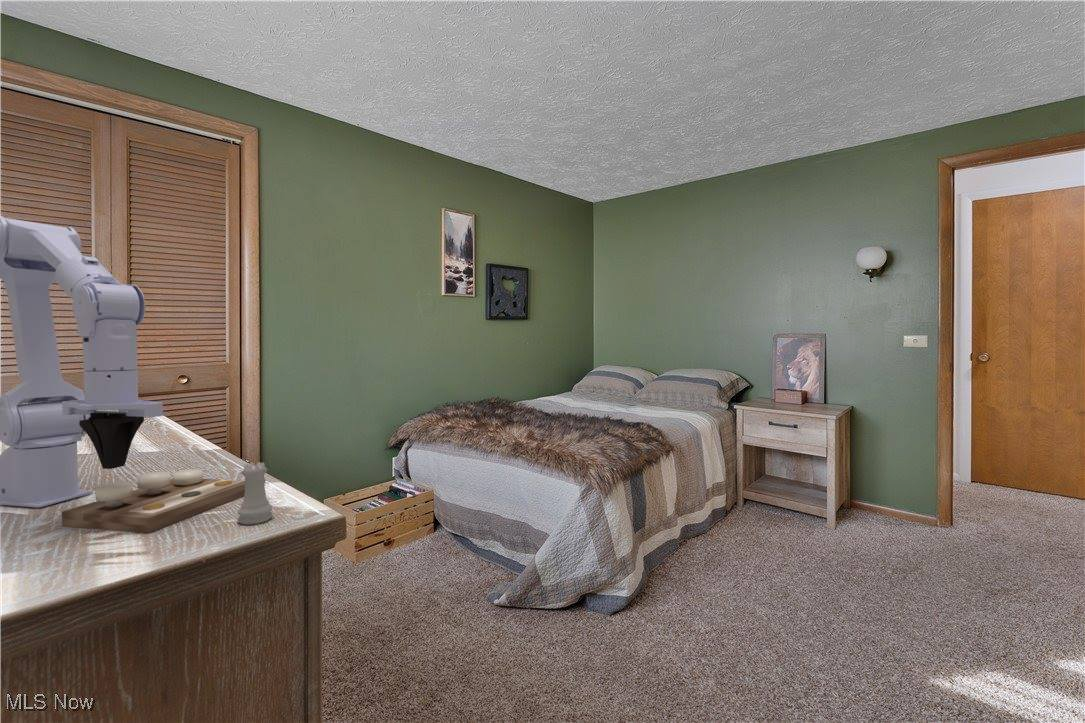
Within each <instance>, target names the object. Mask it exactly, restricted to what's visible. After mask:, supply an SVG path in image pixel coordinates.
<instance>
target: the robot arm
mask: <svg viewBox="0 0 1085 723" xmlns="http://www.w3.org/2000/svg"><path fill="white" fill-rule="evenodd" d="M0 280H2V281H3V284H4V288H5V290H6V291H5V292H6V297H7V302H8V308H9V310H8V311H9V315H10V323H11V330H12V336H13V344H14V351H15V357H16V364H17V372H18V379H19V384H17V385H16V386H14V387H13V388H11V389H9V390H8V391H6V392H5V393H3V394H2V395H1V396H0V442H1V443H3V444H4V445H6V446H7V448H6V449H4V450H3V451H2V452H1V453H0V504H1V505H2V506H11V507H27V508H43V507H47V506H50V505H55V504H58V503H61V502H64V501H69V500H72V499H75V498H80V497H83V496H87V495H90V494H94V490H93V489H85V488H84V489H83V488H82V489H81V488H79V468H78V466H79V465H78V464H79V461H78V442H82V441H83V437H84V436H86V435H87V436H88V438H89V440H90V441H91V442H92V445H93V447H94V450H95V451H96V453H97V456H98V459H99V462H100V465H101V467H102V469H105V470H111V469H117V468H121V467H125V465H126V463H127V462H126V461H127V458H128V454H129V451H130V447H131V445H132V443H133V440H134V438H135V436H136V434H137V432H138V431H139V429H140V427H141V425H142V424H143V423H144V421H145V418H146V419H147V418H149V419H151V418H156V417H163V416H164V408H163V407H164V405H163V404H164V402H163V401H151V400H142V399H141V400H140V399H139V381H138V380H139V376H138V373H139V372H138V341H137V340H138V338H137V337H138V334H137V331H138V330H137V326H138V325H140V324H141V323H142V321H143V320H144V317H145V314H146V301H145V300H146V299H145V296H144V293H143V291H142V290H141V289H140V288H139V286H138V285H136V284H123V283H120V281H119V280H117V279H116V277H115V276H114V275H113V274H112V273H110V271H109V270H108V269H106V268H105V266H104V265H102V263H101V262H100V261H99V259H97V257H92V256H86V255H85V256H84V255H83V253H82V241H81V237H80V235H79V233H78V232H77V231H76V229H74V227H71V226H58V225H53V224H45V223H41V222H35V221H34V222H33V221H29V220H28V221H27V220H21V219H15V218H10V217H8V218H7V217H4V216H2V215H0ZM56 283H57V284H58V286H59V287H60V288H61V289H62V290H63V291H64V292H65V294H67V295H68V296H69V297H70V299H71V300H72V302H71V306H72V308H71V309H72V313H73V316H74V319H75V322H76V328H77V331H76V332H77V333H78V337H81V338H82V356H83V357H82V360H83V390H82V389H81V388H79V387H78V386H75V385H73V384H71V383H69V382H67V381H66V380H64V379H63V376H62V370H61V369H62V368H61V362H60V354H59V349H58V341H57V335H56V330H55V323H54V322H55V321H54V316H53V309H52V302H51V295H50V289H49V288H50V286H51V285H53V284H56ZM1 505H0V506H1Z"/></svg>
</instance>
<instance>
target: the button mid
mask: <svg viewBox="0 0 1085 723" xmlns="http://www.w3.org/2000/svg"><path fill="white" fill-rule="evenodd" d="M170 480H171V471H162V470H161V471H151V472H145V473H142V474H139V475H137V476H136V484H137V486H136V489H147V494H148V495H153V494H159V493H161V492H162V487H163V486H166V485H169V484H170Z"/></svg>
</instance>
